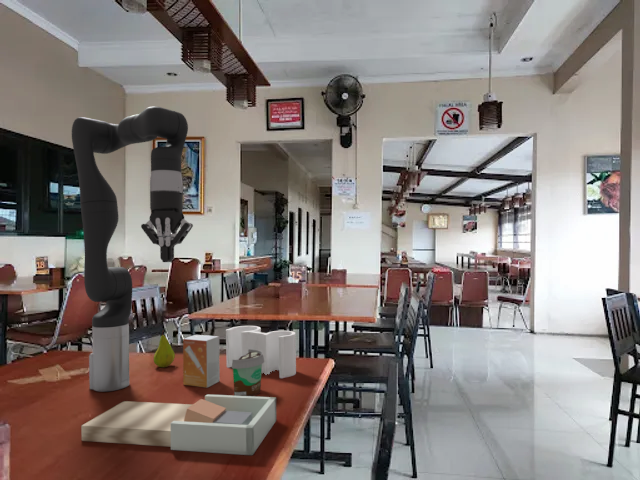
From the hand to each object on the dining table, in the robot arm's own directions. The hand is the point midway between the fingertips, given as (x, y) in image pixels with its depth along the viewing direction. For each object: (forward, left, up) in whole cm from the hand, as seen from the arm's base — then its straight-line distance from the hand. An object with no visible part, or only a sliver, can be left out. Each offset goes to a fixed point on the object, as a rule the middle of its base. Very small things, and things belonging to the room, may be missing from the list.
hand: (167, 261), depth 107 cm
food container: (+17, +12, -35) cm, 41 cm away
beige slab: (+2, -13, -35) cm, 37 cm away
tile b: (+21, -13, -34) cm, 43 cm away
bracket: (+13, +34, -35) cm, 51 cm away
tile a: (+15, -13, -33) cm, 38 cm away
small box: (0, +18, -35) cm, 40 cm away
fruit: (-20, +33, -35) cm, 52 cm away
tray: (+20, -13, -35) cm, 42 cm away
